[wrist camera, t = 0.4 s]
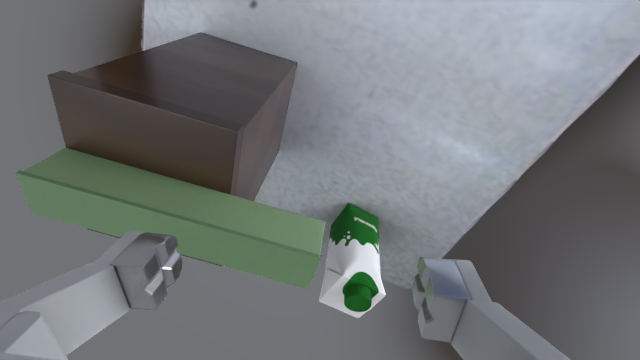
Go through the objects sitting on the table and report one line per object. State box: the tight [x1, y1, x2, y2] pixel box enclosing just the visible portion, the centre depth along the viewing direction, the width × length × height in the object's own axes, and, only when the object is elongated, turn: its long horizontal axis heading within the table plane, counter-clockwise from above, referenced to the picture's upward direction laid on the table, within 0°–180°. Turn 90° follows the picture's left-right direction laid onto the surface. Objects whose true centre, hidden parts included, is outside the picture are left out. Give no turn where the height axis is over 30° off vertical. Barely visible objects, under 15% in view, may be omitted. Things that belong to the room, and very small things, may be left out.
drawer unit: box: [48, 33, 297, 266], centre depth 39 cm, size 17×17×26 cm
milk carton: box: [319, 203, 386, 318], centre depth 53 cm, size 9×9×20 cm
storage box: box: [16, 148, 325, 289], centre depth 26 cm, size 4×24×4 cm, turn 75°
